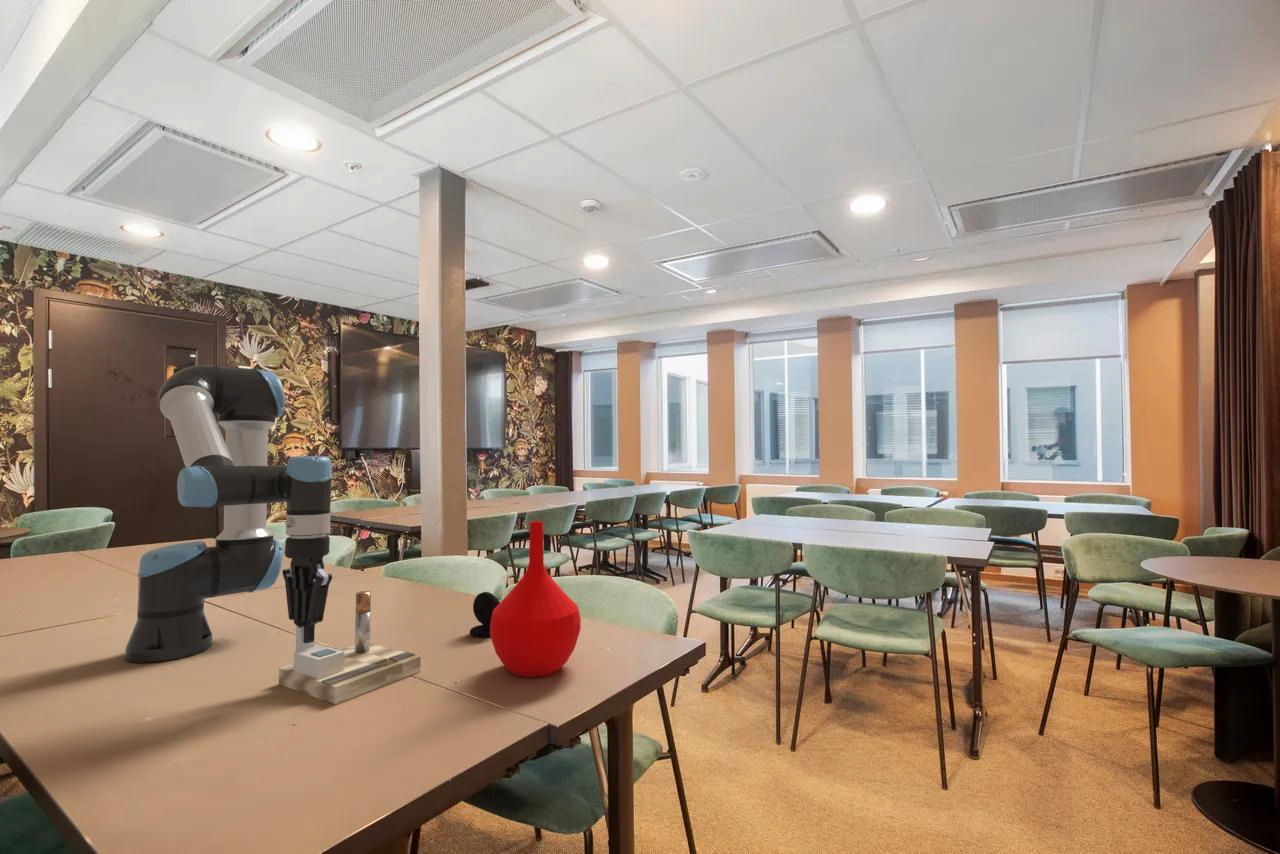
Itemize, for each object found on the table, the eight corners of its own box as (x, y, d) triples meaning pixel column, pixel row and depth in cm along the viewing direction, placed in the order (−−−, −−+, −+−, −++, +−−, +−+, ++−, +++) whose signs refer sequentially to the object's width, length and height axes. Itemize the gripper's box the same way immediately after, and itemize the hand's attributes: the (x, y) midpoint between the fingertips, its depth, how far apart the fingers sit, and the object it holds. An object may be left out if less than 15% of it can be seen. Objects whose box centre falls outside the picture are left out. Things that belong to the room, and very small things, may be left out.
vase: (596, 660, 125) (597, 519, 126) (548, 692, 108) (549, 529, 109) (525, 648, 132) (526, 515, 134) (469, 677, 116) (471, 524, 117)
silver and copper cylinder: (351, 652, 121) (353, 593, 122) (364, 648, 124) (365, 590, 124) (360, 654, 120) (361, 594, 120) (372, 650, 122) (373, 592, 123)
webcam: (508, 632, 145) (508, 591, 145) (485, 640, 138) (485, 597, 139) (486, 627, 149) (486, 587, 149) (462, 634, 142) (463, 593, 143)
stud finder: (293, 671, 111) (293, 651, 111) (319, 662, 115) (319, 643, 115) (318, 679, 107) (318, 658, 107) (344, 670, 111) (344, 650, 111)
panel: (278, 684, 112) (279, 667, 112) (364, 655, 128) (364, 640, 128) (335, 704, 103) (335, 685, 103) (420, 671, 118) (420, 655, 119)
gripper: (269, 535, 114) (265, 658, 113) (307, 540, 108) (304, 671, 107) (307, 530, 121) (304, 647, 120) (346, 535, 114) (343, 659, 113)
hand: (304, 658), depth 113 cm, fingers closed
